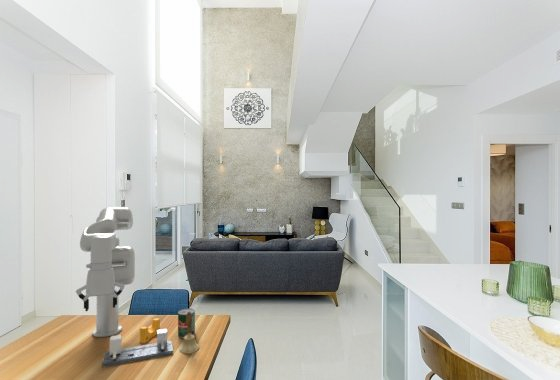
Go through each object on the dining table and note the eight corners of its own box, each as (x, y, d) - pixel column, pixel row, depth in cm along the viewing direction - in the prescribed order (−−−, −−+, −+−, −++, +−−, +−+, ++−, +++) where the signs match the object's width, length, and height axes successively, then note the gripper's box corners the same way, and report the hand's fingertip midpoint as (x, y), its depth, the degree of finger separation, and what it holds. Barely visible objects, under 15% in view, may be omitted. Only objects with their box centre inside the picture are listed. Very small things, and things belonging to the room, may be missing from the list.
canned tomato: (194, 330, 156) (194, 307, 157) (195, 336, 149) (195, 313, 149) (177, 332, 154) (177, 309, 154) (177, 339, 146) (177, 315, 147)
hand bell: (180, 355, 131) (181, 316, 132) (178, 347, 139) (178, 310, 139) (201, 351, 135) (201, 313, 135) (197, 343, 142) (197, 307, 143)
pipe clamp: (151, 331, 155) (151, 318, 156) (159, 331, 155) (159, 318, 155) (136, 342, 144) (136, 328, 144) (145, 343, 143) (145, 328, 143)
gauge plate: (105, 355, 132) (105, 337, 132) (171, 343, 142) (171, 326, 142) (102, 367, 122) (102, 347, 123) (172, 354, 132) (173, 336, 133)
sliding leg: (110, 350, 132) (110, 336, 132) (121, 348, 133) (121, 334, 133) (108, 360, 124) (108, 345, 124) (119, 358, 125) (119, 343, 125)
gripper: (74, 270, 122) (73, 314, 122) (124, 266, 129) (123, 308, 128) (78, 266, 129) (77, 308, 128) (125, 262, 136) (125, 302, 135)
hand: (100, 308), depth 128 cm, fingers open, 9 cm apart
